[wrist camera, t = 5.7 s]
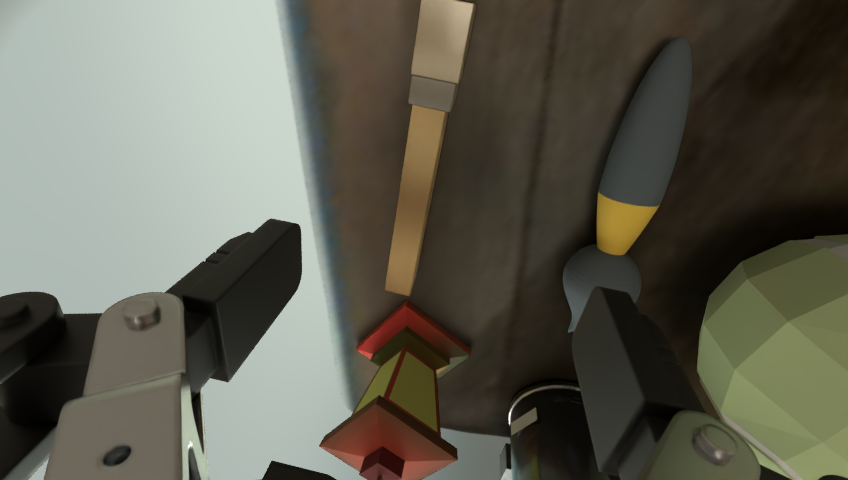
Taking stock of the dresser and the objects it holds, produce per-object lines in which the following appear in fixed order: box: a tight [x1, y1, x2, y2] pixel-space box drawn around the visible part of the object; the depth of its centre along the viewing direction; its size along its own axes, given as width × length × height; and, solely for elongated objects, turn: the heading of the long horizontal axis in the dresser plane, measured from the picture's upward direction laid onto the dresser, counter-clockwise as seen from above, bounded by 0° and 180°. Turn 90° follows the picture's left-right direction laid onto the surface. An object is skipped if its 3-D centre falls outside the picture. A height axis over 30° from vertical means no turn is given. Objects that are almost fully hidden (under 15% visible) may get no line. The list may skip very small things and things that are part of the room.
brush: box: [385, 0, 476, 296], centre depth 27 cm, size 20×3×3 cm, turn 170°
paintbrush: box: [563, 37, 692, 333], centre depth 25 cm, size 20×5×5 cm, turn 0°
